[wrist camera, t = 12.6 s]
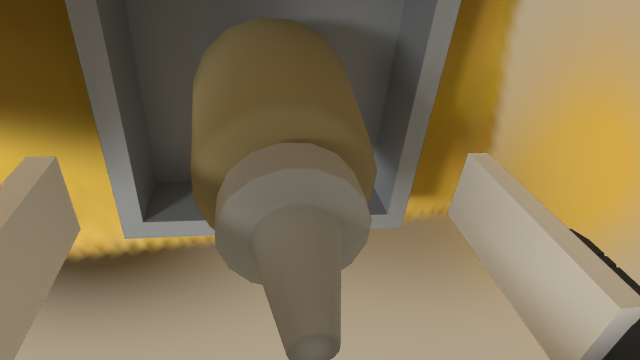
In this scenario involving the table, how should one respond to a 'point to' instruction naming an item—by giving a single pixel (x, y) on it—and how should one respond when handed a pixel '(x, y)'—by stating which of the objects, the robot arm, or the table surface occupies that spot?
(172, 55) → the bin
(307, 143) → the squeeze bottle
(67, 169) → the table surface
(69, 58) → the table surface
